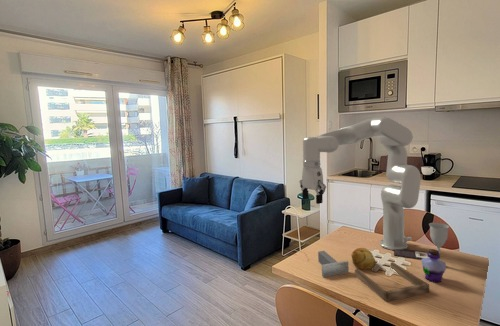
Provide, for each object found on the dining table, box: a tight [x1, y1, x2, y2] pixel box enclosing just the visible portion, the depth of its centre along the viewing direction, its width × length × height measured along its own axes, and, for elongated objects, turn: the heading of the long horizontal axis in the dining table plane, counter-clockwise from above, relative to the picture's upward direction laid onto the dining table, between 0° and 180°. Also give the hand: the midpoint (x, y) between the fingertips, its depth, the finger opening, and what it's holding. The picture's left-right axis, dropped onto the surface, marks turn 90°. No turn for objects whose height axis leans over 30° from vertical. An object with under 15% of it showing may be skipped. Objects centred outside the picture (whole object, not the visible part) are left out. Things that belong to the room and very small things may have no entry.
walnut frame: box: [354, 262, 430, 303], centre depth 107 cm, size 18×18×3 cm
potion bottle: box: [420, 248, 447, 284], centre depth 108 cm, size 9×9×12 cm
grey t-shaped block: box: [317, 250, 350, 278], centre depth 122 cm, size 12×13×5 cm
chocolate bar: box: [393, 248, 429, 261], centre depth 130 cm, size 9×1×18 cm
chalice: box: [428, 222, 450, 261], centre depth 118 cm, size 7×7×18 cm
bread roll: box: [351, 247, 376, 271], centre depth 123 cm, size 13×10×8 cm
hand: (312, 201), depth 126 cm, fingers open, 9 cm apart
